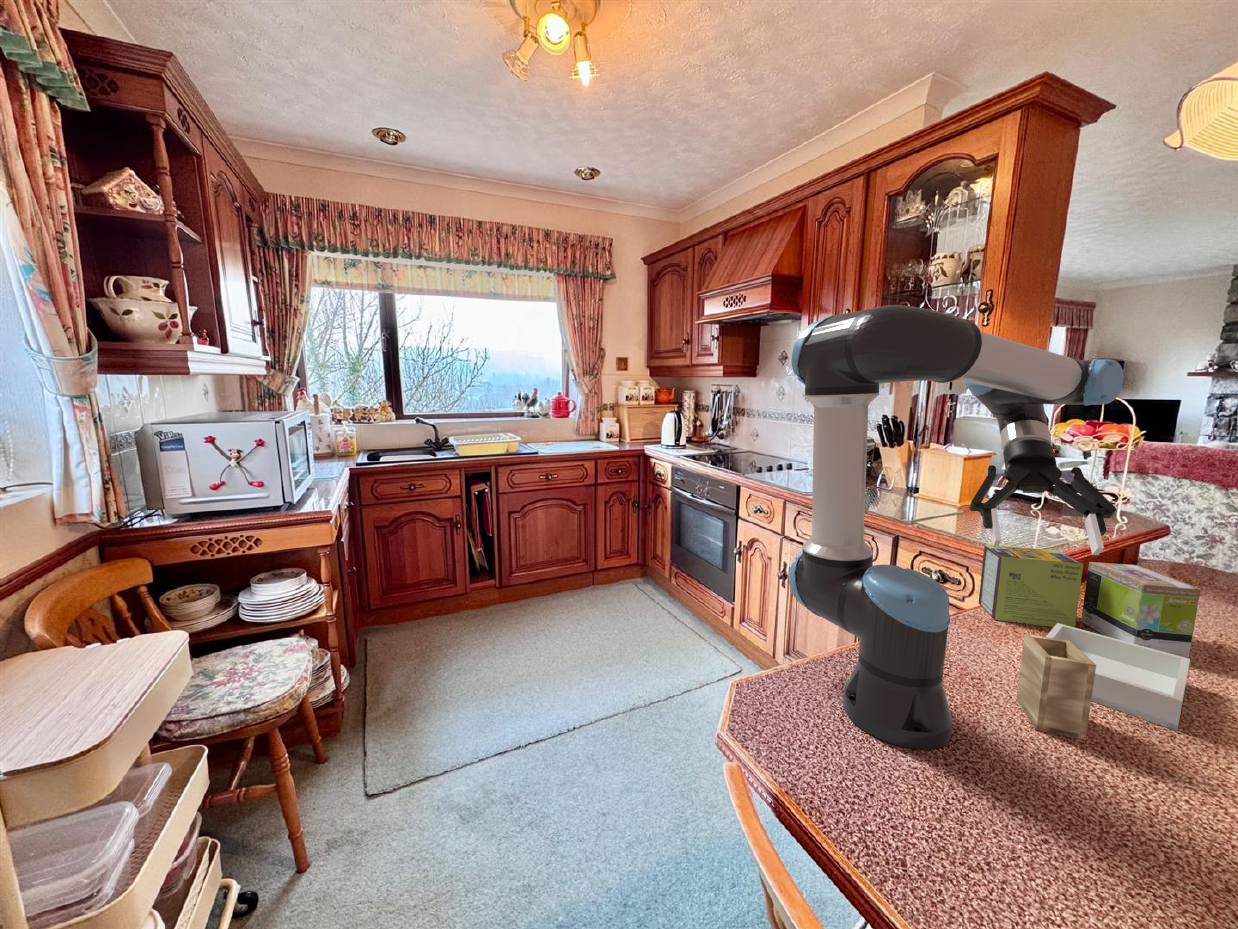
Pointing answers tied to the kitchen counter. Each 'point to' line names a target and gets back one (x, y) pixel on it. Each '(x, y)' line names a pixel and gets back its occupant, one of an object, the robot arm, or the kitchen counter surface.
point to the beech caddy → (1055, 686)
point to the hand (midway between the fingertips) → (1045, 547)
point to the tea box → (1140, 607)
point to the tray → (1132, 676)
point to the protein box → (1030, 585)
